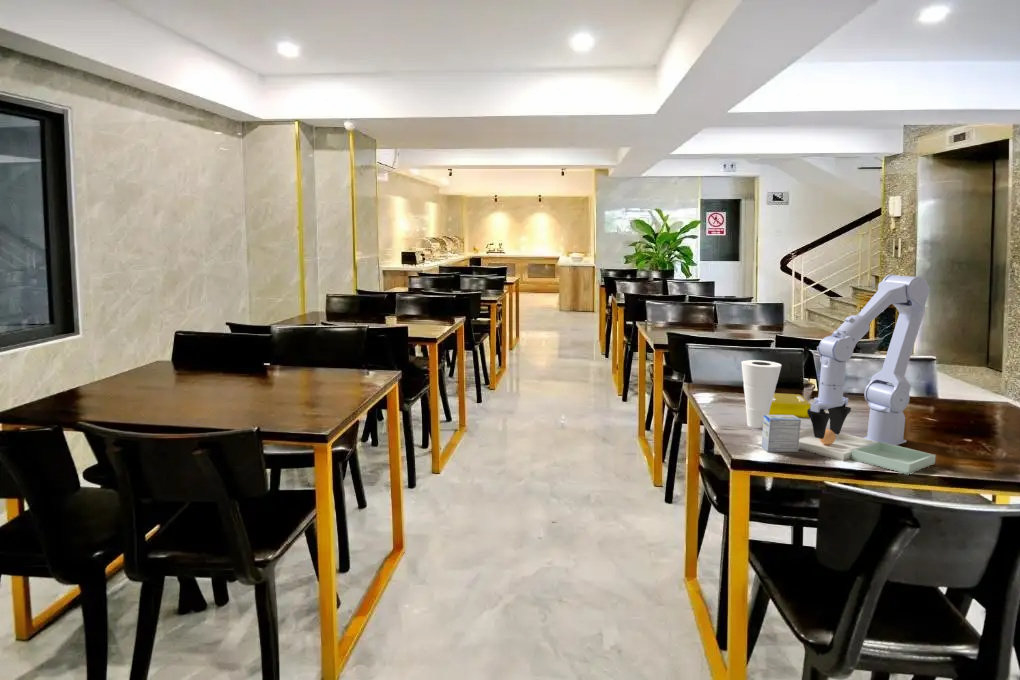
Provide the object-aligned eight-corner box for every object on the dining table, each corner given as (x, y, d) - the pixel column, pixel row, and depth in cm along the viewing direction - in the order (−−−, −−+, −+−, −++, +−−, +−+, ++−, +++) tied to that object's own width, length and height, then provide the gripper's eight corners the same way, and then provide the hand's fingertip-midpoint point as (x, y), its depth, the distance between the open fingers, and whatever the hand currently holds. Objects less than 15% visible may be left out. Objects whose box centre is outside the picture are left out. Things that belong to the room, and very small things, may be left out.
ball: (823, 441, 193) (825, 426, 192) (838, 445, 189) (839, 430, 189) (814, 443, 190) (816, 428, 190) (829, 447, 187) (830, 432, 187)
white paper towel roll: (779, 432, 202) (784, 368, 200) (738, 429, 204) (743, 365, 202) (773, 422, 213) (778, 361, 210) (735, 420, 215) (739, 359, 212)
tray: (814, 432, 203) (815, 426, 203) (880, 449, 189) (880, 442, 189) (776, 442, 192) (777, 436, 192) (843, 461, 178) (843, 453, 178)
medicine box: (791, 447, 188) (794, 414, 187) (798, 453, 184) (801, 419, 183) (760, 447, 188) (763, 414, 187) (767, 452, 184) (770, 418, 183)
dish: (878, 450, 187) (879, 441, 187) (934, 465, 177) (935, 454, 177) (851, 459, 179) (852, 449, 179) (908, 475, 169) (909, 464, 168)
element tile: (811, 419, 220) (812, 403, 219) (758, 416, 222) (760, 400, 221) (800, 407, 234) (801, 392, 233) (751, 404, 237) (752, 390, 236)
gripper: (832, 378, 195) (827, 428, 197) (801, 384, 186) (796, 436, 188) (858, 382, 190) (853, 434, 192) (827, 389, 181) (822, 442, 183)
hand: (826, 435), depth 190 cm, fingers open, 7 cm apart
